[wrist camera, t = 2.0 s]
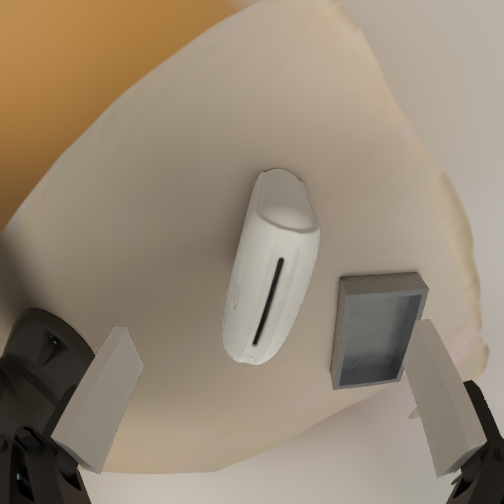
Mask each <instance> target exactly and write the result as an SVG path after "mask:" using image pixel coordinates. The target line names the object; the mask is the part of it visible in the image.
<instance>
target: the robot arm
mask: <svg viewBox="0 0 504 504" xmlns="http://www.w3.org/2000/svg"><path fill="white" fill-rule="evenodd" d="M402 364H403V366H404V369H405V372H406V375H407V378H408V380H409V383H410V386H411V389H412V392H413V395H414V398H415V401H416V404H417V407H418V411H419V414H420V417H421V420H422V423H423V427H424V430H425V434H426V437H427V441H428V444H429V448H430V452H431V455H432V459H433V463H434V467H435V471H436V475H437V479H439V478H443V477H446V476H449V475H452V474H454V473H455V472H456V471H457V470H458V469H459V468H461V472H462V474H460V475H459V476H458V477H457V478H456V479H455V480H454V481H453V482H452V483H451V484H452V485H454V484H455V483H456V482H457V483H456V485H455V487H454V489H453V491H452V493H451V495H450V497H449V499H448V501H447V503H446V504H504V439H503V438H502V437H501V435H500V433H499V430H498V428H497V425H496V423H495V421H494V418H493V416H492V414H491V411H490V409H489V408H488V405H487V403H486V400H484V396H483V394H482V392H481V390H480V388H479V387H478V386H477V385H476V384H475V383H474V382H473V381H472V380H470V381H466V382H462V380H461V378H460V376H459V374H458V371H457V369H456V367H455V365H454V363H453V361H452V359H451V357H450V355H449V353H448V351H447V349H446V348H445V346H444V344H443V342H442V340H441V338H440V336H439V334H438V333H437V331H436V329H435V327H434V325H433V323H432V322H431V320H430V319H424V320H416V321H415V324H414V328H413V331H412V334H411V338H410V341H409V344H408V347H407V350H406V353H405V356H404V359H403V362H402ZM143 368H144V365H143V363H142V361H141V359H140V356H139V354H138V352H137V349H136V347H135V345H134V342H133V340H132V337H131V335H130V333H129V330H128V328H127V327H119V326H114V327H113V329H112V330H111V332H110V333H109V335H108V337H107V338H106V340H105V341H104V343H103V345H102V346H101V348H100V350H99V351H98V353H97V355H96V356H95V357H94V355H93V353H92V351H91V350H90V348H89V347H88V346H87V344H86V343H85V342H84V341H83V340H82V338H81V337H80V336H79V335H78V334H77V333H76V332H75V331H74V330H73V329H72V328H70V327H69V326H68V325H67V324H65V323H64V322H63V321H61V320H60V319H58V318H57V317H55V316H53V315H52V314H50V313H48V312H45V311H42V310H39V309H27V310H25V311H24V312H23V313H22V314H21V315H20V316H19V317H18V318H17V319H16V321H15V322H14V324H13V326H12V330H11V332H10V335H9V338H8V340H7V343H6V346H5V349H4V352H3V355H2V357H1V358H0V504H91V502H90V499H89V496H88V494H87V491H86V488H85V486H84V483H83V480H82V478H81V475H80V472H79V470H78V469H77V466H78V464H80V465H81V466H82V467H83V468H84V469H86V470H88V471H91V472H94V473H97V474H100V473H101V470H102V467H103V465H104V462H105V460H106V457H107V454H108V452H109V449H110V447H111V444H112V442H113V439H114V437H115V434H116V432H117V429H118V427H119V424H120V422H121V420H122V417H123V415H124V412H125V410H126V408H127V405H128V403H129V400H130V398H131V396H132V393H133V391H134V389H135V386H136V384H137V382H138V380H139V377H140V375H141V373H142V370H143Z"/></svg>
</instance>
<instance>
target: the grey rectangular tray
mask: <svg viewBox="0 0 504 504" xmlns="http://www.w3.org/2000/svg"><path fill="white" fill-rule="evenodd" d="M428 290H429V288H428V287H427V285H426V284H425V282H424V281H423V279H422V278H421V277H420V275H419V274H418V273H417V272H413V273H399V274H384V275H369V276H353V277H340V284H339V296H338V308H337V318H336V327H335V336H334V345H333V353H332V361H331V368H330V373H331V379H332V386H333V390H335V389H345V388H355V387H363V386H371V385H379V384H386V383H392V382H399V381H400V379H401V377H402V374H403V371H404V366H403V364H402V362H403V359H404V356H405V353H406V350H407V347H408V344H409V341H410V338H411V334H412V331H413V328H414V324H415V321H416V320H421V317H422V313H423V309H424V306H425V302H426V298H427V294H428Z"/></svg>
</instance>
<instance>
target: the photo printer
mask: <svg viewBox="0 0 504 504" xmlns="http://www.w3.org/2000/svg"><path fill="white" fill-rule="evenodd" d="M319 243H320V223H319V220H318V217H317V214H316V212H315V209H314V206H313V203H312V200H311V198H310V195H309V193H308V190H307V188H306V185H305V183H304V182H303V181H299V180H298V178H297V177H296V176H295V175H294V174H293V173H291V172H289V171H287V170H284V169H272V170H269V171H267V172H263V171H262V172H261V173H260V174H259V176H258V178H257V180H256V183H255V185H254V188H253V191H252V194H251V196H250V202H249V205H248V209H247V213H246V217H245V221H244V225H243V229H242V234H241V237H240V242H239V246H238V249H237V253H236V257H235V261H234V265H233V269H232V273H231V277H230V281H229V285H228V290H227V294H226V299H225V304H224V309H223V314H222V324H221V325H222V326H221V335H222V342H223V346H224V348H225V350H226V352H227V353H228V355H229V356H230V357H231V358H232V359H233V360H235V361H236V362H246V363H250V364H253V365H260V364H263V363H265V362H267V361H268V360H269V359H271V358H272V357H273V356H274V355H275V354H276V353H277V352H278V350H279V349H280V348H281V346H282V345H283V343H284V342H285V340H286V338H287V336H288V334H289V333H290V331H291V329H292V326H293V324H294V322H295V320H296V318H297V315H298V313H299V310H300V308H301V305H302V303H303V300H304V297H305V295H306V292H307V289H308V286H309V283H310V280H311V277H312V273H313V270H314V266H315V263H316V259H317V254H318V250H319Z"/></svg>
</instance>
